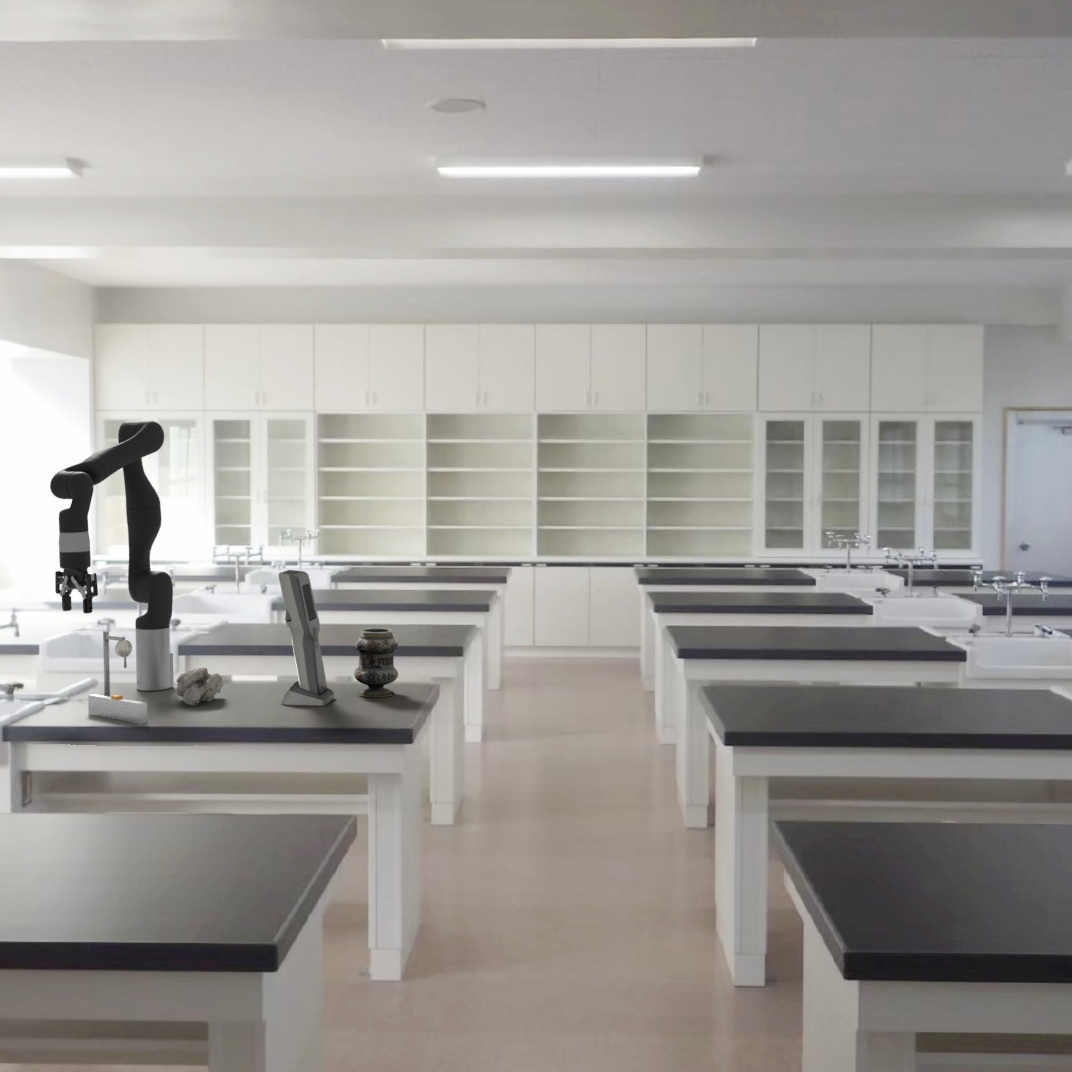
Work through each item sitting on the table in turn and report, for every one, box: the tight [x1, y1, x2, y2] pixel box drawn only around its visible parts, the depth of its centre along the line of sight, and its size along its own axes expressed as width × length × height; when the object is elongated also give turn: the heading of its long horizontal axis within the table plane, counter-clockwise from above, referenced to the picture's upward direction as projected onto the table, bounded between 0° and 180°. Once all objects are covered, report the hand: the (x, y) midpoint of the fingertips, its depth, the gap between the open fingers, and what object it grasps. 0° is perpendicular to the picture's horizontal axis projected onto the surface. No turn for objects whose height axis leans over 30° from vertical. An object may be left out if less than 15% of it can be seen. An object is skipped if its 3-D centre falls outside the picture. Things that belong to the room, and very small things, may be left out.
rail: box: [87, 693, 148, 725], centre depth 316 cm, size 2×20×6 cm, turn 57°
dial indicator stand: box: [102, 630, 133, 697], centre depth 332 cm, size 6×11×20 cm, turn 57°
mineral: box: [175, 667, 224, 707], centre depth 338 cm, size 12×17×10 cm
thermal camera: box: [278, 569, 336, 707], centre depth 337 cm, size 12×13×35 cm
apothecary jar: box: [353, 627, 399, 699], centre depth 348 cm, size 12×12×18 cm
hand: (77, 611), depth 327 cm, fingers open, 8 cm apart
